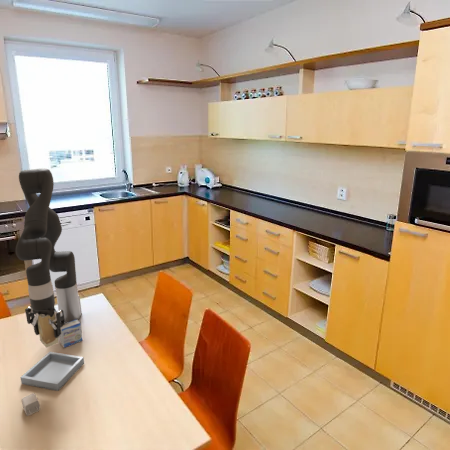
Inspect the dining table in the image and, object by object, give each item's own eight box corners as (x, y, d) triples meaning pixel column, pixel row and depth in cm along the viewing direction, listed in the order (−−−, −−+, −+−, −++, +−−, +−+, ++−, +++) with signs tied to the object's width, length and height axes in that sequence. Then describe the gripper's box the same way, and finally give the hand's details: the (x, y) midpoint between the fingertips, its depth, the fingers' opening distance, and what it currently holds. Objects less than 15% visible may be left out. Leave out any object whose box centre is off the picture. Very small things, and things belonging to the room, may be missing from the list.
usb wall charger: (36, 402, 117) (34, 392, 116) (42, 414, 112) (40, 404, 111) (23, 408, 115) (21, 398, 113) (28, 421, 110) (26, 411, 108)
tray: (50, 357, 139) (49, 351, 138) (84, 363, 136) (83, 357, 135) (21, 383, 125) (20, 377, 124) (58, 390, 122) (57, 384, 121)
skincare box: (39, 341, 128) (34, 311, 124) (52, 336, 131) (47, 306, 127) (46, 348, 123) (41, 317, 120) (59, 343, 126) (54, 312, 123)
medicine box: (63, 348, 145) (61, 329, 143) (60, 343, 148) (57, 325, 146) (83, 340, 150) (80, 322, 148) (79, 336, 153) (76, 318, 151)
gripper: (66, 291, 123) (72, 332, 128) (31, 286, 127) (38, 327, 131) (51, 301, 116) (58, 344, 121) (15, 296, 120) (23, 338, 124)
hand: (48, 335), depth 126 cm, fingers closed on skincare box, 7 cm apart
